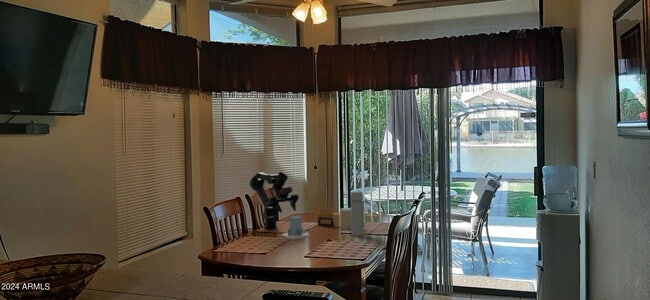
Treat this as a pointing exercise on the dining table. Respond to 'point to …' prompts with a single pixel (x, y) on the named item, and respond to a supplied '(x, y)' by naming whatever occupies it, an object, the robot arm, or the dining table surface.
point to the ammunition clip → (325, 217)
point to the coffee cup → (345, 218)
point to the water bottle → (357, 213)
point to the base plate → (296, 235)
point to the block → (295, 225)
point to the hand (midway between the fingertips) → (288, 211)
